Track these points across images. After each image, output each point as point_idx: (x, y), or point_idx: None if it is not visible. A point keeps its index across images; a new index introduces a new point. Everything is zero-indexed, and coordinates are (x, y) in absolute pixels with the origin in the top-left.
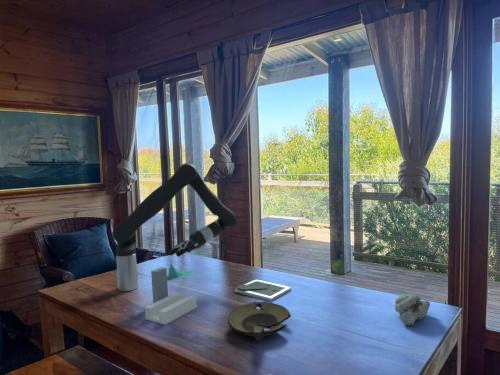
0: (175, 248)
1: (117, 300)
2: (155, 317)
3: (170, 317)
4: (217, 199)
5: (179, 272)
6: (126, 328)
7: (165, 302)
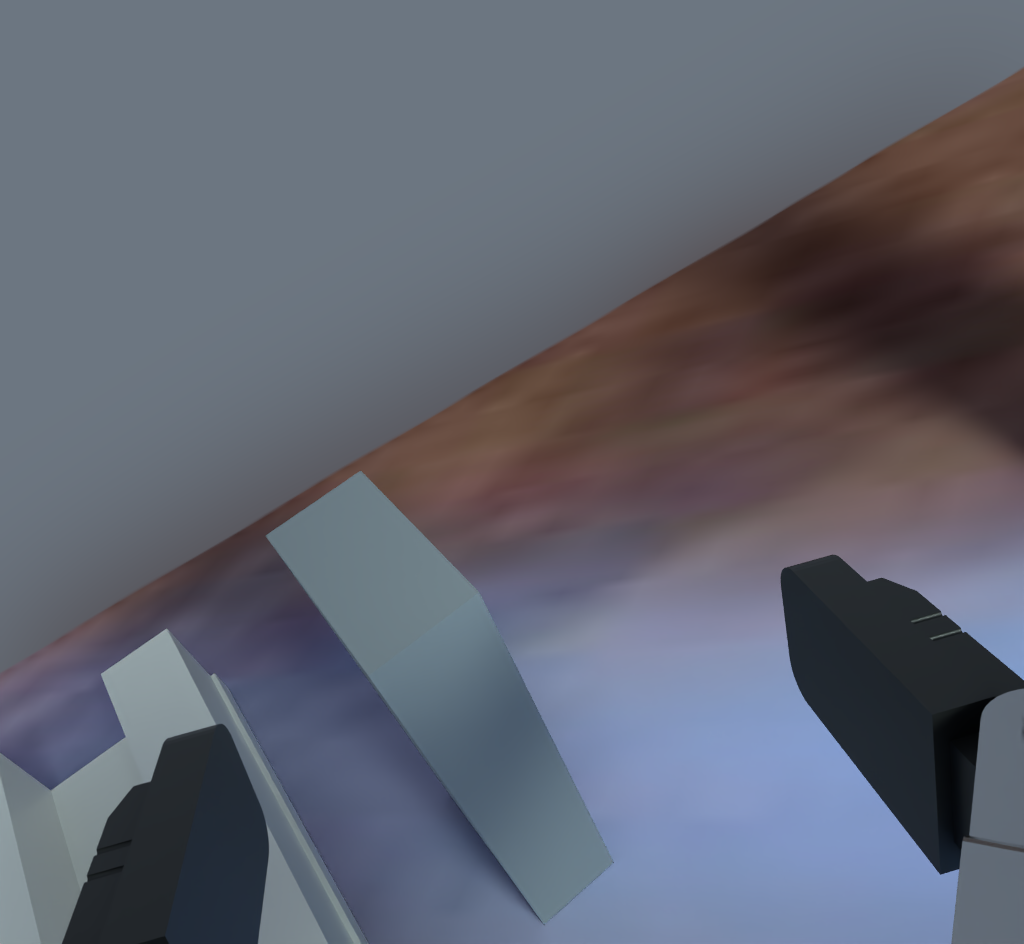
0: (930, 731)
1: (789, 424)
2: (121, 758)
3: None
4: None
5: None
6: (169, 578)
7: None
